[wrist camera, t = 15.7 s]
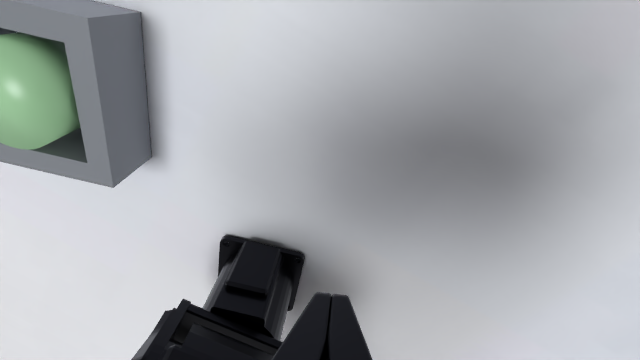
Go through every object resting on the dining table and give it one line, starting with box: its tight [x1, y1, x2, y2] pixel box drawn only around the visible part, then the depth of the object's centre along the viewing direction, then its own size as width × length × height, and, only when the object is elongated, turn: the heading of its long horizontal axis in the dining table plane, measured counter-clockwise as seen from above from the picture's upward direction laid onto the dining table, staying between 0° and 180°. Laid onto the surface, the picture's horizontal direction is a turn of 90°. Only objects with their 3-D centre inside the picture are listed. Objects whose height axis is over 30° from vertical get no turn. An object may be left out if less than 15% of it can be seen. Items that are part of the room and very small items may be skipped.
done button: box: [0, 32, 81, 150], centre depth 18 cm, size 5×5×4 cm
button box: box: [0, 0, 151, 188], centre depth 18 cm, size 9×9×4 cm
